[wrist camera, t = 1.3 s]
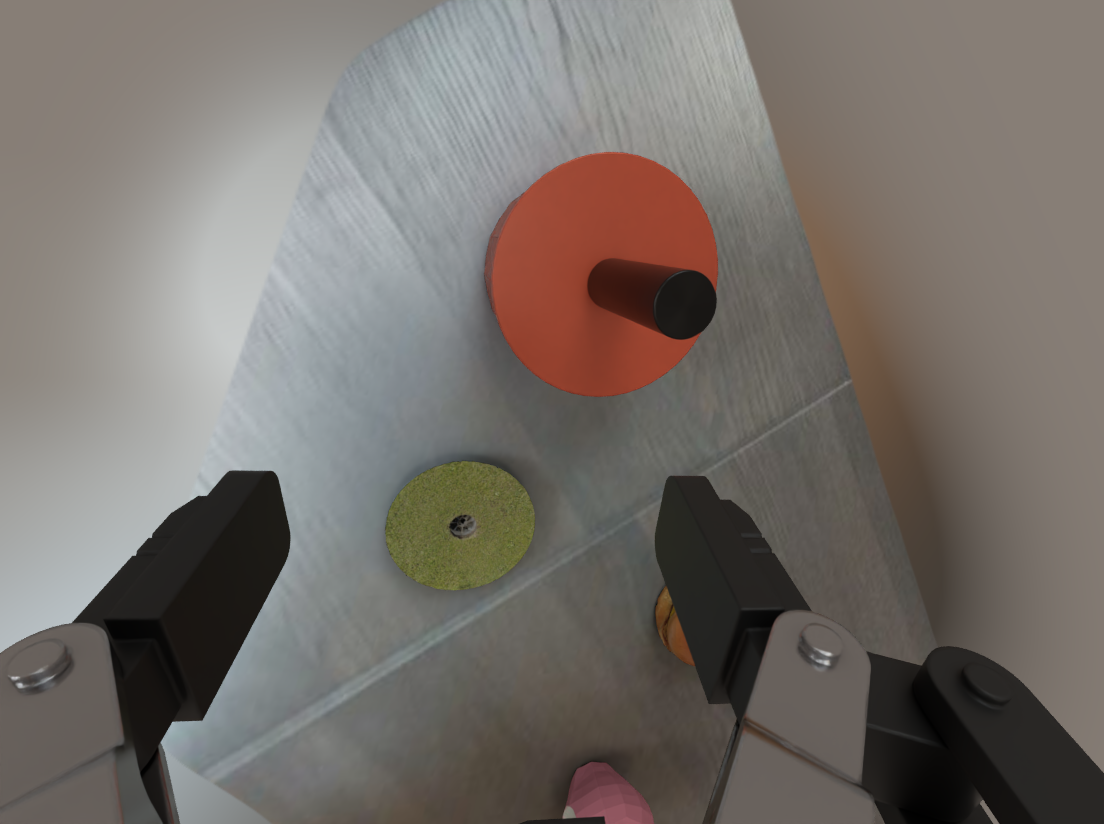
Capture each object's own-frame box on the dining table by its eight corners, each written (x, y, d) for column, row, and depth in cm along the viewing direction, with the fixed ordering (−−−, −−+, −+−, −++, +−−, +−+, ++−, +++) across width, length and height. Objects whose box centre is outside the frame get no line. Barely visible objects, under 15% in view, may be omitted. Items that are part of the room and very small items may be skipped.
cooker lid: (472, 376, 30) (495, 442, 21) (512, 125, 26) (562, 67, 17) (674, 403, 34) (771, 469, 24) (735, 187, 30) (877, 168, 20)
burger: (709, 650, 52) (734, 688, 48) (635, 631, 49) (655, 669, 45) (759, 572, 50) (790, 604, 46) (686, 546, 47) (712, 578, 43)
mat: (510, 582, 44) (514, 597, 42) (374, 569, 40) (372, 584, 38) (546, 464, 41) (552, 475, 39) (403, 439, 37) (402, 449, 36)
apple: (566, 738, 52) (597, 848, 42) (641, 740, 54) (685, 844, 45) (538, 807, 54) (562, 925, 45) (611, 805, 57) (647, 916, 48)
